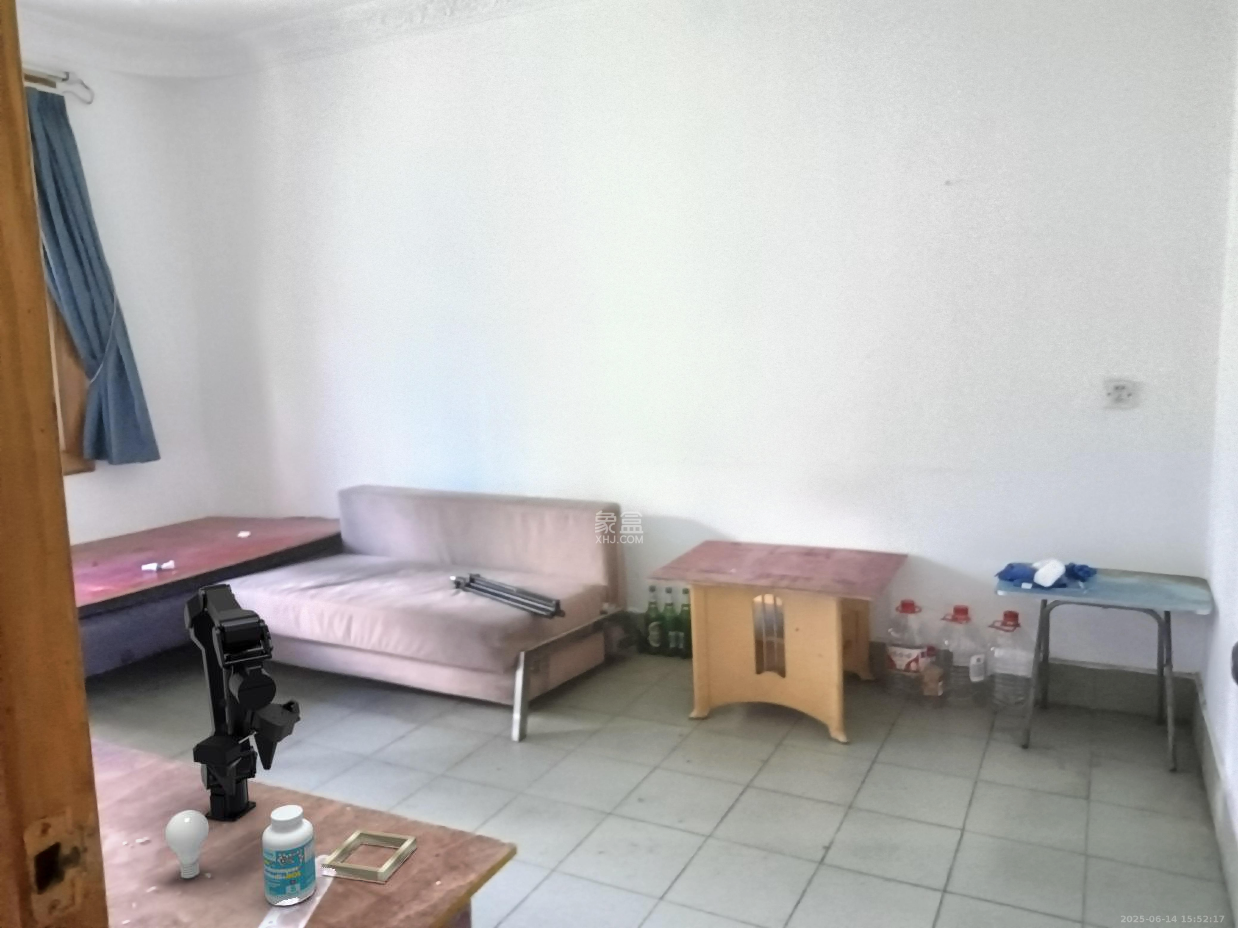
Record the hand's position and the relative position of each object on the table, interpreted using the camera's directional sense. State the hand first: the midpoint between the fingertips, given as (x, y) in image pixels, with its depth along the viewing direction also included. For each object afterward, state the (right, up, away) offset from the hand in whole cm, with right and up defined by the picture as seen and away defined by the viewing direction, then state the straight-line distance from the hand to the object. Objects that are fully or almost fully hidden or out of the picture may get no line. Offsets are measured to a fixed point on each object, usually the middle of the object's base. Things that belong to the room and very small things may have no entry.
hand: (249, 781), depth 152 cm
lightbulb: (-8, -14, -5) cm, 17 cm away
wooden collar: (+20, -13, -1) cm, 24 cm away
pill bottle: (+10, -14, -10) cm, 20 cm away
